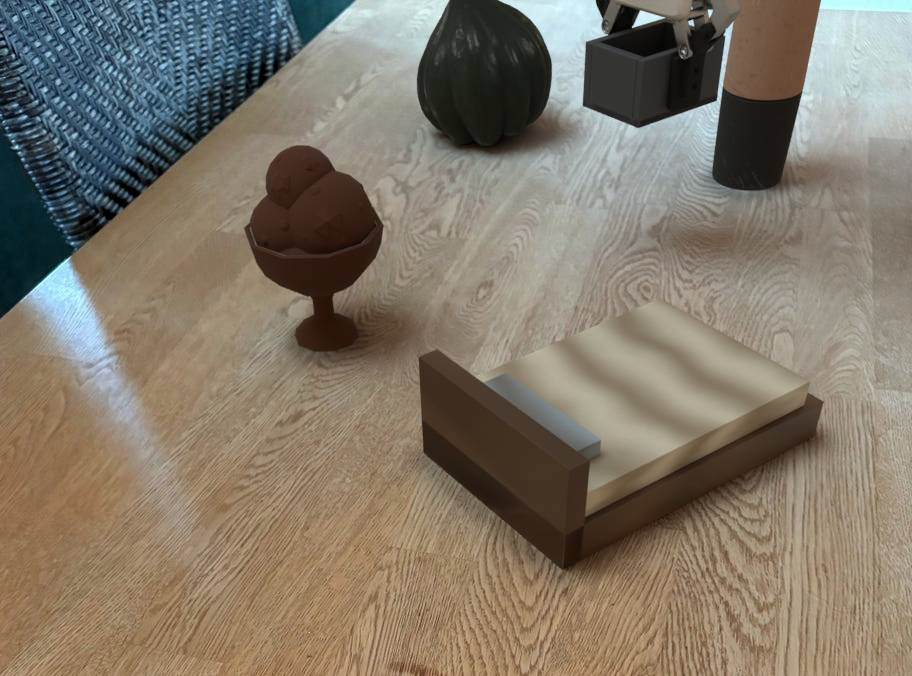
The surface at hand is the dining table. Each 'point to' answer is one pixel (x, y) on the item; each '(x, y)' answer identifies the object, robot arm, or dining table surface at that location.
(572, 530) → the bed
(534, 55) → the squash
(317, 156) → the ice cream bowl
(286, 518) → the dining table surface
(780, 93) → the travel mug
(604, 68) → the basket
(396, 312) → the dining table surface
